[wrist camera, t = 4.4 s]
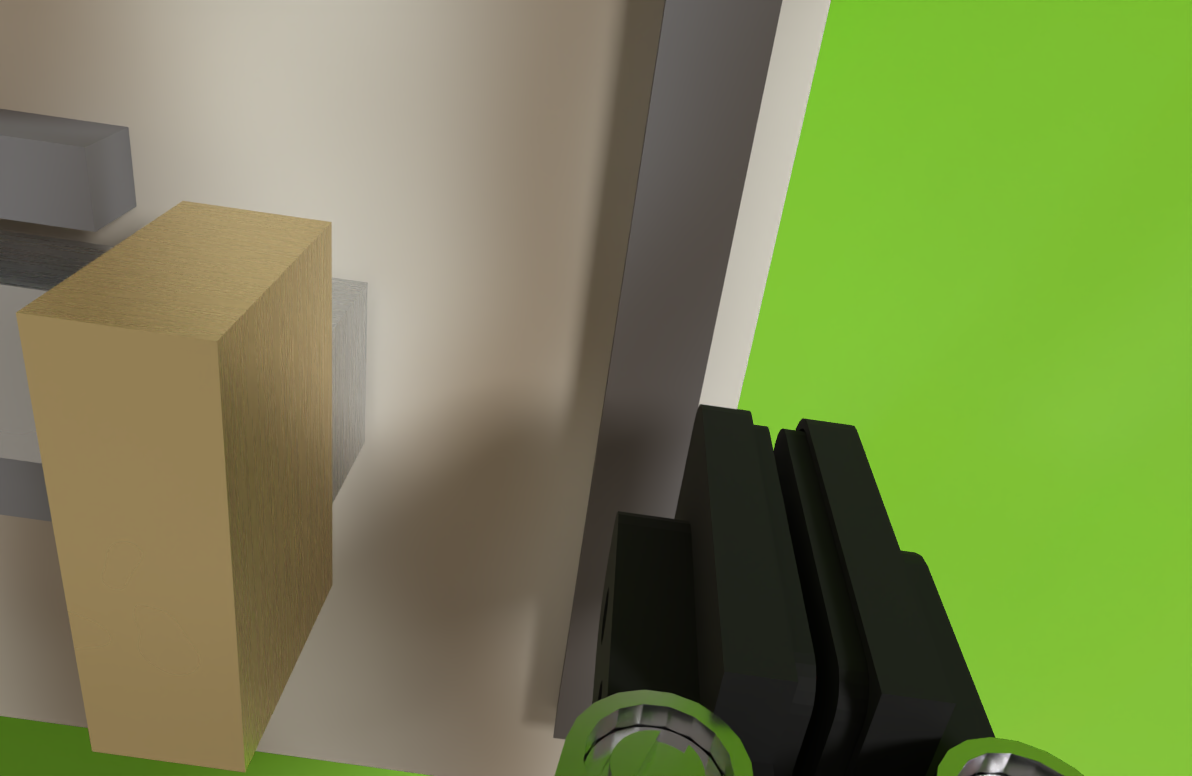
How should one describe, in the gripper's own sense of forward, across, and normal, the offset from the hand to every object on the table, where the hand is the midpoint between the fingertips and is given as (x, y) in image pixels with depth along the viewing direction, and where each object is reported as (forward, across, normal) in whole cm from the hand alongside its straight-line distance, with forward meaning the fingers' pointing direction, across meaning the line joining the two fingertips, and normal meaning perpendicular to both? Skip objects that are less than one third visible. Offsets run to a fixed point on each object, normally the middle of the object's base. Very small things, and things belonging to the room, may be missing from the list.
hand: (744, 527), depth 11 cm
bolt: (+2, +10, 0) cm, 10 cm away
